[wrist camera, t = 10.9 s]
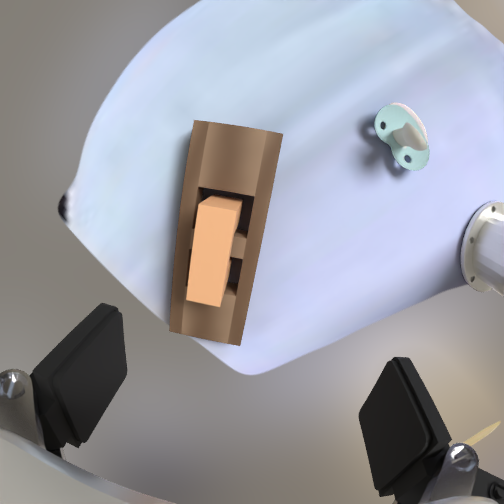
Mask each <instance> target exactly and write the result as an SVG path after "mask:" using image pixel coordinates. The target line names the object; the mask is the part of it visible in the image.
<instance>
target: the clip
mask: <svg viewBox="0 0 504 504" xmlns="http://www.w3.org/2000/svg"><path fill="white" fill-rule="evenodd" d="M242 204H243V199H239V198H234V197H229V196H223V195H218V194H213V195H211V196H210V197H208V198H207V199H205V200H204V201H203V202H201V203H200V204H199V206H198V212H197V219H196V225H195V232H194V240H193V247H192V255H191V263H190V271H189V279H188V288H187V297H186V300H189V301H194V302H198V303H203V304H207V305H212V306H217V307H220V305H221V302H222V298H223V295H224V291H225V288H226V285H227V281H228V278H229V274H230V268H231V263H232V257H230V254H231V248H232V243H233V237H234V233H235V231H236V228H237V226H238V223H239V219H240V214H241V209H242Z"/></svg>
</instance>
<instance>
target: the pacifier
mask: <svg viewBox="0 0 504 504" xmlns="http://www.w3.org/2000/svg"><path fill="white" fill-rule="evenodd" d="M381 122H384V123H385V129H384V130H383V129H381V127H380V124H381ZM374 127H375V131H376V134H377V135H378V137H379V138H380V139H381V140H382V141H383V142H385V143H387V144H389V145H390V147H391V151H392V154H393V156H394V158H395V160H396V161H397V162H398V163H399V164H400V165H401V166H402V167H404V168H406V169H408V170H414V171H415V170H420V169H422V168H424V167H425V166H426V164H427V162H428V159H429V146H428V138H427V133H426V130H425V128H424V125H423V124H422V122H421V120H420V119H419V117H418V116H417V115H416V114H415V113H414V112H413V111H412V110H411V109H410V108H409V107H407V106H405V105H403V104H401V103H391V104H389V105H387V106H385V107H383V108H382V109H380V110H379V112H378V113H377V115H376V117H375V122H374ZM405 155H408V156H409V157H410V159H411V161H410V162H409V163H407V162H406V161H405V159H404V156H405Z"/></svg>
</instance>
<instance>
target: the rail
mask: <svg viewBox="0 0 504 504" xmlns="http://www.w3.org/2000/svg"><path fill="white" fill-rule="evenodd" d="M282 137H283V134H281V133H276V132H271V131H265V130H260V129H254V128H249V127H242V126H236V125H229V124H222V123H215V122H207V121H198V120H194V124H193V129H192V135H191V140H190V146H189V152H188V158H187V164H186V170H185V176H184V183H183V190H182V197H181V205H180V212H179V221H178V229H177V238H176V248H175V258H174V269H173V281H172V294H171V310H170V330H169V331H171V332H175V333H179V334H184V335H188V336H193V337H197V338H202V339H207V340H212V341H217V342H222V343H227V344H232V345H238V346H240V344H241V340H242V335H243V330H244V325H245V320H246V316H247V311H248V306H249V301H250V296H251V292H252V287H253V282H254V277H255V272H256V267H257V262H258V257H259V253H260V248H261V243H262V238H263V233H264V228H265V223H266V218H267V213H268V208H269V203H270V198H271V193H272V188H273V183H274V178H275V173H276V168H277V163H278V158H279V153H280V148H281V142H282ZM204 188H210V189H216V190H222V191H228V192H234V193H239V194H245V195H250V196H255V198H254V203H253V208H252V214H251V219H250V224H249V229H248V231H245V230H240V229H236V231H235V233H234V237H233V243H232V248H231V254H230V257H235V258H240V259H243V262H242V267H241V272H240V278H239V283H238V284H236V283H231V282H227V285H226V288H225V291H224V295H223V298H222V302H221V305H220V307H217V306H212V305H207V304H203V303H198V302H194V301H189V300H186V297H187V288H188V279H189V271H190V263H191V255H192V247H193V240H194V232H195V225H196V219H197V212H198V206H199V204H200V203H201V202H202V197H203V191H204Z"/></svg>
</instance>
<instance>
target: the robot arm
mask: <svg viewBox="0 0 504 504" xmlns="http://www.w3.org/2000/svg"><path fill="white" fill-rule="evenodd" d="M460 258H461V269H462V274H463V276H464V279H465V281H466V282H467V284H468V285H470V286H471V287H472V288H473V289H475V290H476V291H480V292H486V291H490V290H492V289H494V290H495V291H497V292H498V293H499V294H501V295H502V296H503V297H504V203H502V202H499V201H492V202H489V203H486V204H485V205H483V206H482V207H481V208H480V209H479V210H478V211H477V212H476V213H475V214H474V216H473V218H472V219H471V221H470V223H469V225H468V227H467V229H466V232H465V235H464V238H463V243H462V247H461V257H460ZM126 375H127V363H126V354H125V345H124V333H123V319H122V314H121V313H120V312H119V311H118V308H117V307H115V306H111V305H108V304H105V303H101V304H100V305H99V306H97V307H96V308H95V309H94V310H93V311H92V312H91V313H90V314H89V315H88V316H87V317H86V318H85V319H84V320H83V321H82V322H80V323H79V324H78V325H77V326H76V327H75V328H74V329H73V330H72V331H71V332H70V333H69V334H68V335H67V336H66V337H65V338H64V339H63V340H62V341H61V342H60V343H59V344H58V345H57V346H56V347H55V348H54V349H53V350H52V351H51V352H50V353H49V354H48V355H47V356H46V357H45V358H44V359H43V360H42V361H41V362H40V363H39V364H38V365H37V366H36V368H34V370H33V372H32V374H31V375H30V376H29V375H28V374H27V373H26V372H24V371H22V370H19V369H8V370H5V371H3V372H1V373H0V504H176V503H172V502H169V501H165V500H161V499H158V498H155V497H152V496H148V495H145V494H142V493H139V492H137V491H134V490H131V489H128V488H125V487H123V486H120V485H118V484H115V483H112V482H110V481H108V480H105V479H103V478H101V477H99V476H97V475H94V474H92V473H90V472H87V471H85V470H83V469H81V468H79V467H77V466H75V465H73V464H71V463H69V462H67V461H66V458H65V454H64V450H63V447H64V446H65V444H66V442H67V443H69V444H71V445H73V446H75V447H77V448H79V446H80V444H81V443H82V442H83V443H85V442H87V440H88V439H89V437H90V435H91V434H92V432H93V430H94V428H95V427H96V425H97V423H98V422H99V420H100V418H101V417H102V415H103V413H104V412H105V410H106V408H107V407H108V405H109V404H110V402H111V400H112V399H113V397H114V395H115V394H116V392H117V391H118V389H119V387H120V386H121V384H122V382H123V381H124V379H125V377H126ZM359 421H360V425H361V429H362V433H363V438H364V442H365V446H366V450H367V455H368V459H369V464H370V468H371V473H372V478H373V482H374V487H375V489H376V490H378V491H379V496H380V497H383V496H389V495H393V494H394V495H395V500H394V502H393V503H392V504H504V480H502V479H500V478H498V477H496V476H494V475H491V474H490V473H488V472H486V471H484V470H482V469H480V468H478V466H479V459H478V455H477V453H476V451H475V450H474V449H473V448H472V447H471V446H469V445H467V444H464V443H456V444H453V445H452V446H451V447H449V444H448V443H449V442H450V441H451V440H452V439H451V437H450V434H449V432H448V430H447V428H446V426H445V424H444V422H443V420H442V418H441V416H440V414H439V412H438V410H437V408H436V406H435V404H434V402H433V400H432V398H431V396H430V394H429V392H428V391H427V389H426V387H425V385H424V383H423V381H422V379H421V378H420V376H419V374H418V372H417V370H416V369H415V367H414V365H413V363H412V362H411V360H410V359H409V358H406V357H405V358H404V357H394V358H393V359H392V360H391V361H388V362H387V364H386V366H385V367H384V369H383V371H382V373H381V375H380V377H379V379H378V380H377V382H376V384H375V386H374V388H373V389H372V391H371V393H370V394H369V396H368V398H367V400H366V401H365V403H364V404H363V406H362V408H361V409H360V412H359Z"/></svg>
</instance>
